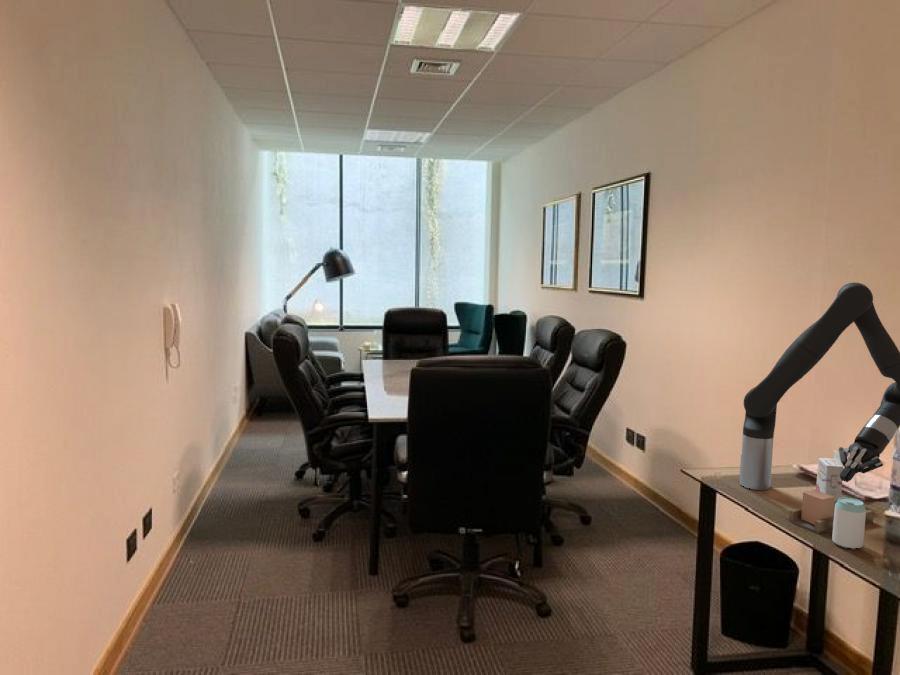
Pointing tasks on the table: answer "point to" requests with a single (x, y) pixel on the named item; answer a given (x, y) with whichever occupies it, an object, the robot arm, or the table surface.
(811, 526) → the chute
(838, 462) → the ink cartridge box
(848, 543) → the can
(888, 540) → the table surface
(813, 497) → the block
